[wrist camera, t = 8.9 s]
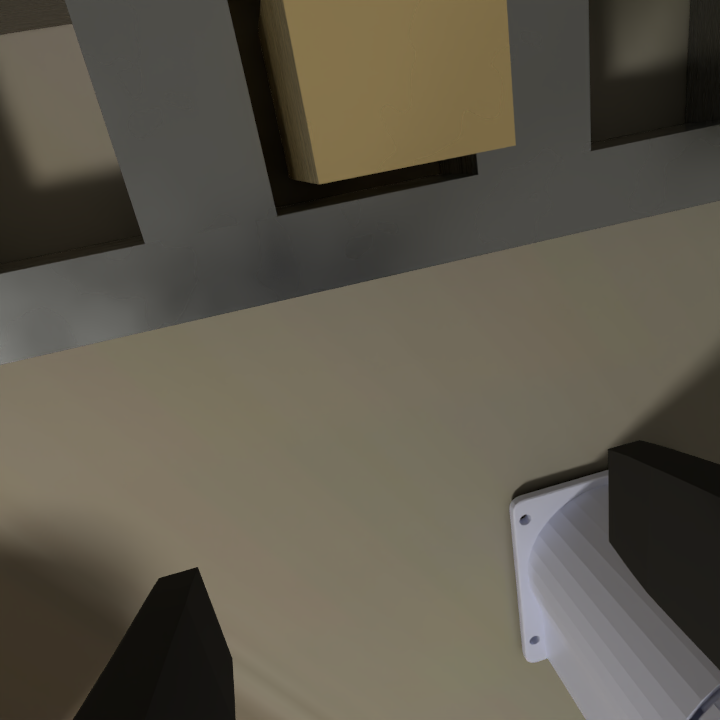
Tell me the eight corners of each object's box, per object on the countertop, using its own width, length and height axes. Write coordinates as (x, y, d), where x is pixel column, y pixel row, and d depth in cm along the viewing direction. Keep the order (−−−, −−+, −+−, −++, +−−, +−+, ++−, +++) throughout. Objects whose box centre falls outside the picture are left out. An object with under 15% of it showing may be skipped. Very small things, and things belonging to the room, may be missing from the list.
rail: (735, 177, 19) (816, 178, 17) (-77, 358, 16) (-144, 397, 13) (762, -172, 16) (872, -244, 13) (-285, -37, 12) (-437, -96, 10)
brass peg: (412, 154, 17) (515, 145, 10) (289, 178, 16) (319, 184, 10) (393, 9, 15) (499, -104, 9) (257, 31, 15) (268, -74, 9)
